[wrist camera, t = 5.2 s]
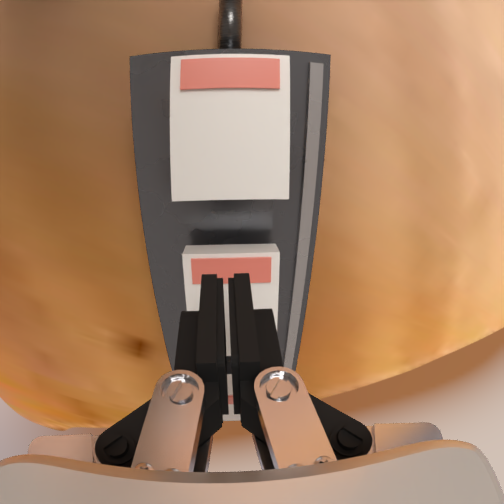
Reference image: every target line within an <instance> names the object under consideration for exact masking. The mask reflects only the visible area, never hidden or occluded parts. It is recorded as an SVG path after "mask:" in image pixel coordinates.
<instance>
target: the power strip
mask: <svg viewBox="0 0 504 504" xmlns="http://www.w3.org/2000/svg"><path fill="white" fill-rule="evenodd" d="M241 30H242V0H219V44H218V49H203V50H186V51H173V52H162V53H153V54H145V55H137V56H130V89H131V111H132V127H133V141H134V153H135V163H136V173H137V182H138V191H139V199H140V207H141V215H142V222H143V229H144V235H145V242H146V248H147V254H148V260H149V266H150V272H151V277H152V283H153V288H154V293H155V298H156V303H157V308H158V313H159V317H160V322H161V326H162V331H163V335H164V340H165V344H166V348H167V352H168V356H169V360H170V364H171V368H172V371H174V365H175V356H176V347H177V338H178V330H179V322H180V315H181V311H187V307H186V296H185V285H184V273H183V259H182V254H183V251H184V249H185V246H186V245H226V244H276V245H277V247H278V249H279V251H280V265H279V295H278V320H277V335H278V340H279V345H280V351H281V356H282V361H283V366H284V367H286V368H289V369H291V370H294V371H295V370H296V365H297V359H298V354H299V348H300V342H301V336H302V330H303V324H304V318H305V312H306V305H307V299H308V292H309V285H310V278H311V271H312V263H313V256H314V248H315V240H316V232H317V224H318V215H319V206H320V196H321V187H322V176H323V166H324V154H325V142H326V129H327V114H328V98H329V79H330V55H328V54H319V53H310V52H299V51H287V50H269V49H241ZM204 54H268V55H287V56H290V173H289V199H246V200H199V201H172V194H171V166H170V70H171V57H173V56H186V55H204ZM226 357H227V374H232V368H231V356H226Z"/></svg>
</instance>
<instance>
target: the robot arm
mask: <svg viewBox="0 0 504 504" xmlns="http://www.w3.org/2000/svg"><path fill="white" fill-rule="evenodd" d="M228 295H229V322H230V346H231V368H232V387H233V405H234V414H240V418H241V423H242V426H243V427H244V428H245V429H247V430H248V431H249V432H251V433H252V437H253V440H254V444H255V448H256V451H257V455H258V458H259V462H260V465H261V469H262V470H259V471H244V472H208V467H209V461H210V454H211V448H212V441H213V434H214V433H215V432H217V430H219V429H220V428H221V427H222V423H223V415H229V407H228V383H227V357H226V329H225V309H224V288H223V278H217V274H202V276H201V289H200V302H199V311H181V315H180V322H179V330H178V338H177V347H176V356H175V365H174V371H170V372H168V373H166V374H164V375H163V376H162V377H161V378H160V379H159V380H158V382H157V384H156V386H155V389H154V392H153V395H152V398H151V399H150V400H149V401H147V402H146V403H145V404H143V405H142V406H140V407H139V408H138V409H136V410H135V411H133V412H132V413H130V414H129V415H127V416H126V417H125V418H123V419H122V420H120V421H119V422H117V423H116V424H114V425H113V426H111V427H110V428H108V429H107V430H105V431H104V432H103V433H102V434H101V435H99V436H93V435H92V434H78V435H55V436H40V437H37V438H35V439H34V440H32V442H31V443H30V445H29V448H28V454H27V455H18V456H12V457H9V458H6V459H3V460H1V461H0V504H504V494H503V491H502V489H501V486H500V484H499V481H498V479H497V476H496V474H495V472H494V470H493V468H492V467H491V465H490V463H489V461H488V460H487V458H486V456H485V455H484V454H483V453H482V451H481V450H480V449H479V448H477V447H476V446H474V445H473V444H470V443H467V442H463V441H457V440H443V438H442V434H441V432H440V430H439V429H438V428H437V427H436V426H435V425H433V424H431V423H427V422H419V423H395V424H394V423H393V424H374V425H373V426H365V425H363V424H362V423H361V422H359V421H357V420H355V419H353V418H351V417H349V416H348V415H346V414H344V413H342V412H340V411H339V410H337V409H335V408H333V407H331V406H330V405H328V404H326V403H324V402H323V401H321V400H319V399H318V398H316V397H314V396H312V395H311V394H309V393H308V391H307V389H306V387H305V384H304V382H303V380H302V378H301V377H300V375H299V374H297V373H296V372H295V371H294V370H291V369H289V368H286V367H284V366H283V361H282V356H281V351H280V345H279V340H278V335H277V330H276V325H275V319H274V314H273V310H272V308H270V309H254V308H253V300H252V292H251V284H250V276H249V273H234V278H228Z"/></svg>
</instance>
